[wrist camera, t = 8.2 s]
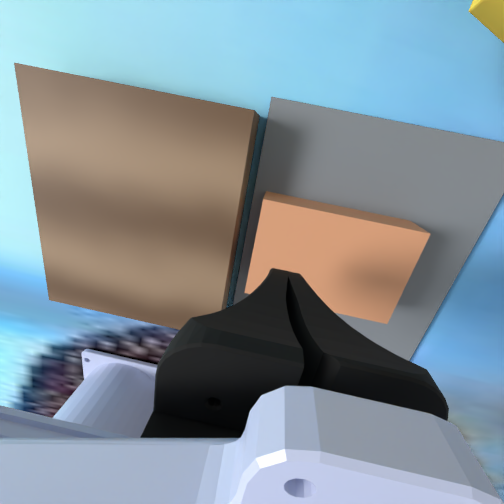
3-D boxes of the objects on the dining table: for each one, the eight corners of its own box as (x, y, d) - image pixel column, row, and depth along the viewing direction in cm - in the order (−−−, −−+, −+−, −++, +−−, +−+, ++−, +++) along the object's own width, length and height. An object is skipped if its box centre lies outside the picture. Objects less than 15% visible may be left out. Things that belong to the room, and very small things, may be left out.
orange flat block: (374, 301, 19) (387, 324, 16) (249, 274, 19) (244, 292, 17) (410, 220, 16) (430, 233, 14) (266, 191, 17) (263, 199, 14)
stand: (225, 312, 21) (216, 338, 18) (79, 279, 21) (49, 300, 19) (259, 115, 15) (254, 110, 13) (61, 76, 16) (14, 62, 13)
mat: (403, 362, 21) (405, 366, 20) (229, 323, 21) (228, 326, 21) (523, 147, 15) (529, 147, 14) (271, 97, 15) (271, 96, 15)
